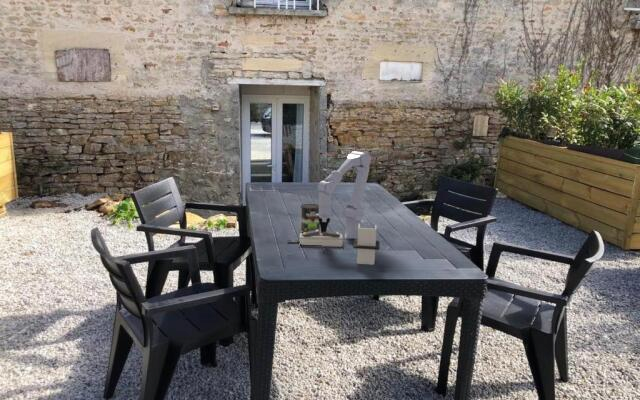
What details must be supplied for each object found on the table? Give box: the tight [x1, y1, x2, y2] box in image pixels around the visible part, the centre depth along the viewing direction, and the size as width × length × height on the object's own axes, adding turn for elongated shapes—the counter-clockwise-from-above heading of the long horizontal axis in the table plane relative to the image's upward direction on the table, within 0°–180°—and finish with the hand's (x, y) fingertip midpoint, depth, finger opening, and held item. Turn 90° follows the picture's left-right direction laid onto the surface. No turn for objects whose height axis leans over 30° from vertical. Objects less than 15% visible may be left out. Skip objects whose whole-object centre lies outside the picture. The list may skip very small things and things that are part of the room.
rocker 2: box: [322, 230, 340, 237], centre depth 230 cm, size 8×4×2 cm, turn 90°
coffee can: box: [300, 203, 321, 232], centre depth 249 cm, size 10×10×14 cm
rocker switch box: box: [287, 232, 343, 248], centre depth 231 cm, size 27×9×4 cm, turn 90°
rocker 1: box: [303, 229, 321, 237], centre depth 230 cm, size 8×4×2 cm, turn 90°
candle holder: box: [353, 224, 381, 265], centre depth 205 cm, size 25×24×16 cm
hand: (323, 232), depth 230 cm, fingers closed, pressing on rocker 2
